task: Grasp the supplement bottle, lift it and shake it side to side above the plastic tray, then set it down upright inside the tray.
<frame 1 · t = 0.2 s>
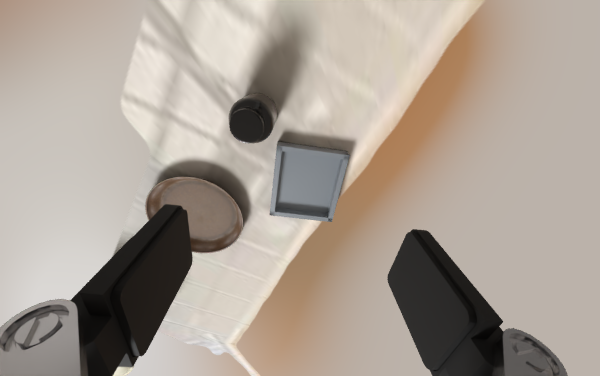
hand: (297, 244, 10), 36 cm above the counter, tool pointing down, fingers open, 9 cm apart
plant saucer: (200, 210, 52), on the counter
supplement bottle: (259, 111, 41), on the counter
tray: (306, 181, 48), on the counter
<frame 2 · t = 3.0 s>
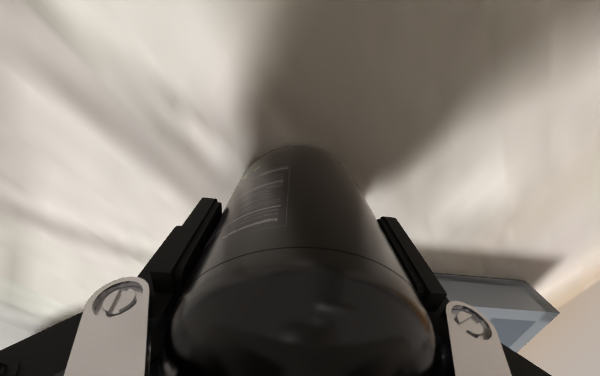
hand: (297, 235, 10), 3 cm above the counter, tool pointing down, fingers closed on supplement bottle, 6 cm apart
supplement bottle: (296, 196, 13), on the counter, touching gripper
tray: (400, 336, 20), on the counter
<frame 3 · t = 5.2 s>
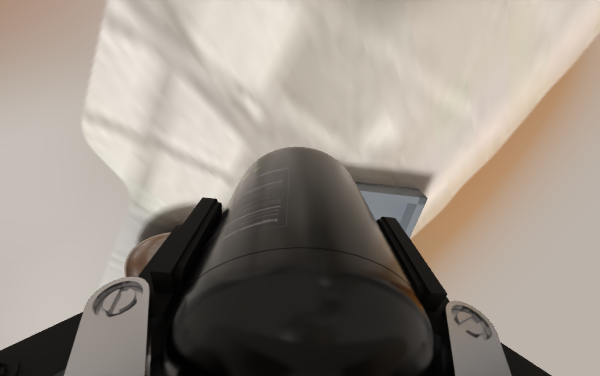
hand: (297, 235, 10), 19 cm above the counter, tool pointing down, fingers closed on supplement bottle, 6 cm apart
plant saucer: (204, 268, 37), on the counter
supplement bottle: (296, 197, 13), point 15 cm above the counter, touching gripper
tray: (354, 230, 34), on the counter
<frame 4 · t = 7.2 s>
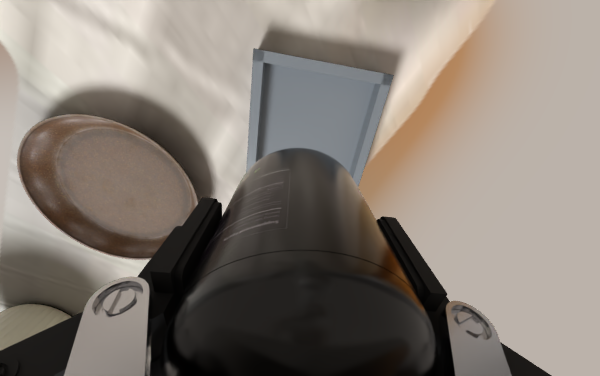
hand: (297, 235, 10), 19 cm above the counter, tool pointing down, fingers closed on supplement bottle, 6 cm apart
canister: (50, 320, 43), on the counter
plant saucer: (131, 187, 31), on the counter
supplement bottle: (297, 197, 13), point 16 cm above the counter, touching gripper
tray: (309, 136, 28), on the counter
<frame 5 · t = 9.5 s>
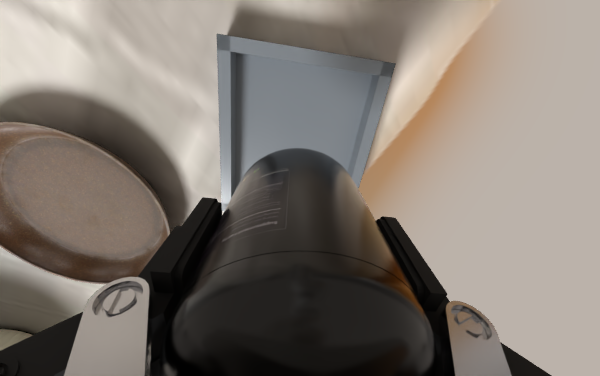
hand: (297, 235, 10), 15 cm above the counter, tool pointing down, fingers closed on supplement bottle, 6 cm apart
canister: (24, 344, 40), on the counter
plant saucer: (93, 203, 27), on the counter
supplement bottle: (296, 198, 13), point 11 cm above the counter, touching gripper
tray: (295, 140, 23), on the counter
when the fingers open (6 cm above the counter, at t = 11.6 s): supplement bottle drops 2 cm, resting on tray.
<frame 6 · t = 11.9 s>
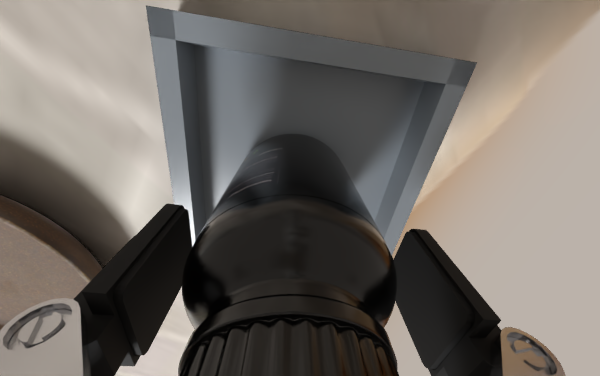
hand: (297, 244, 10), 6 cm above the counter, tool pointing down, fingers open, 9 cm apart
plant saucer: (7, 263, 19), on the counter
supplement bottle: (292, 180, 15), resting on tray
tray: (296, 180, 15), on the counter
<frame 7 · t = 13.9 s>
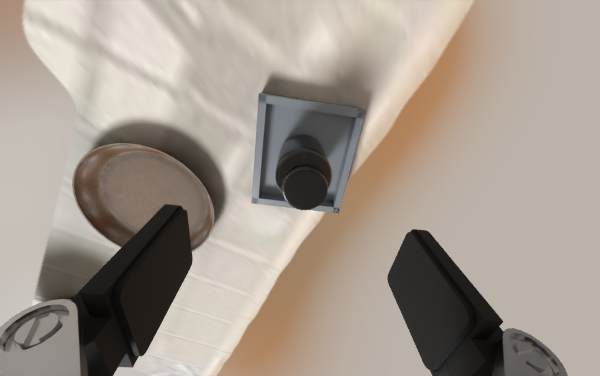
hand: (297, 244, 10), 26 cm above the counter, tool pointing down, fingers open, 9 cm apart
plant saucer: (157, 198, 38), on the counter
supplement bottle: (301, 155, 34), resting on tray
tray: (303, 155, 34), on the counter
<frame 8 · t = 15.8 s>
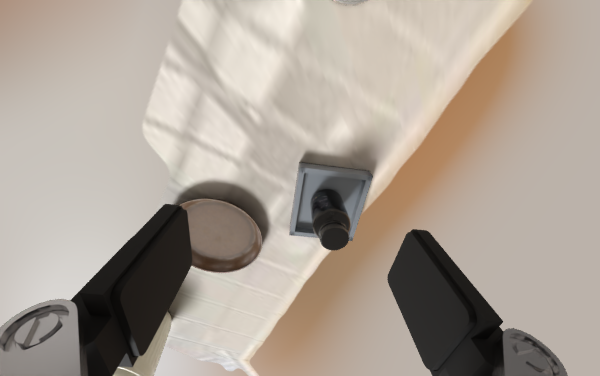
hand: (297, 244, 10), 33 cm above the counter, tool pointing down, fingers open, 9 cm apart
canister: (150, 312, 64), on the counter
plant saucer: (218, 230, 51), on the counter
supplement bottle: (325, 201, 47), resting on tray
tray: (326, 201, 48), on the counter
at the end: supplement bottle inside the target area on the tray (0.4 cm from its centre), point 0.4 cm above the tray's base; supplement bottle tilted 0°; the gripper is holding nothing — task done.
